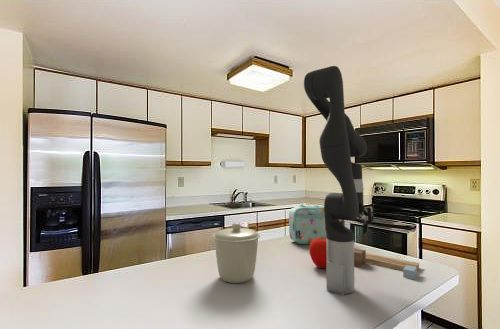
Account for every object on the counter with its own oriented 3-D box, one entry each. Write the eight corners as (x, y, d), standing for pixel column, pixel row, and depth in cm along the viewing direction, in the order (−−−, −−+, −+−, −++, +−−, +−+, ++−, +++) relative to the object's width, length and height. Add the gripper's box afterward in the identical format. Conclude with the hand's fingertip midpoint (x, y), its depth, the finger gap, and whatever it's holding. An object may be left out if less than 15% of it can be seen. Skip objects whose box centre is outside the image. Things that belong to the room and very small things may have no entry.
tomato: (333, 263, 121) (333, 234, 121) (339, 272, 110) (339, 240, 110) (307, 262, 122) (307, 233, 122) (310, 271, 111) (310, 240, 111)
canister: (255, 290, 94) (255, 228, 95) (205, 285, 98) (205, 226, 98) (263, 270, 112) (263, 219, 112) (221, 267, 116) (221, 217, 116)
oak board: (415, 273, 109) (415, 268, 109) (350, 259, 126) (350, 254, 126) (419, 267, 115) (418, 262, 115) (356, 255, 132) (356, 250, 132)
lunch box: (293, 246, 148) (293, 206, 148) (286, 241, 158) (286, 204, 158) (337, 242, 154) (337, 204, 154) (328, 238, 164) (327, 202, 164)
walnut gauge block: (360, 267, 116) (360, 253, 116) (350, 265, 119) (350, 251, 119) (365, 263, 120) (365, 250, 120) (355, 261, 123) (355, 248, 123)
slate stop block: (413, 279, 103) (413, 271, 103) (403, 276, 105) (403, 269, 105) (416, 274, 107) (416, 267, 107) (406, 272, 110) (406, 264, 110)
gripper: (331, 190, 107) (332, 231, 108) (368, 192, 98) (369, 237, 98) (338, 188, 113) (339, 227, 113) (375, 190, 104) (376, 233, 104)
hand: (353, 232), depth 106 cm, fingers open, 8 cm apart
